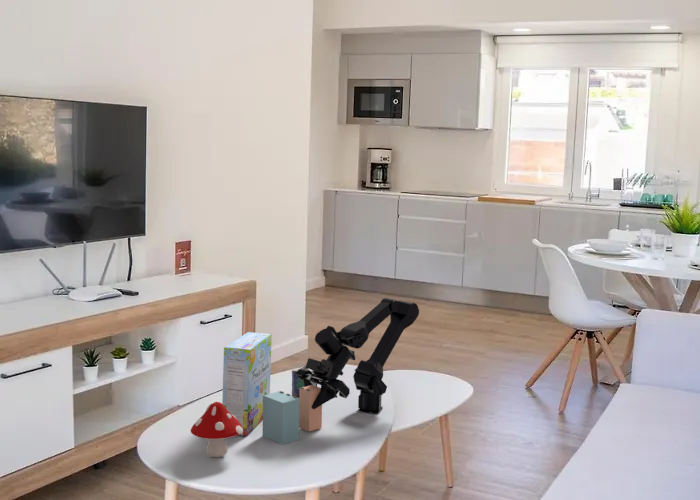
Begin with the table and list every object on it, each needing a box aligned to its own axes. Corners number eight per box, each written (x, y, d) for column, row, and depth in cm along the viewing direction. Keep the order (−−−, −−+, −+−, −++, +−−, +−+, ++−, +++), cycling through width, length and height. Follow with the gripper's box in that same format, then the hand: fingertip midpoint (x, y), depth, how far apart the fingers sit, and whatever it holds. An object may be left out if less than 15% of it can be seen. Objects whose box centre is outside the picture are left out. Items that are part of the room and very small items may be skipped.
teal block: (278, 431, 238) (279, 390, 237) (299, 439, 232) (299, 397, 231) (262, 435, 234) (262, 394, 233) (282, 444, 228) (283, 401, 226)
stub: (311, 423, 244) (312, 384, 243) (321, 427, 241) (322, 387, 240) (299, 427, 241) (299, 387, 239) (308, 431, 238) (309, 390, 236)
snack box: (249, 437, 233) (250, 349, 230) (220, 434, 235) (220, 347, 231) (271, 413, 254) (272, 332, 251) (245, 411, 256) (245, 330, 252)
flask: (290, 396, 272) (290, 364, 270) (294, 394, 274) (295, 362, 273) (315, 400, 268) (315, 368, 266) (319, 398, 270) (319, 366, 269)
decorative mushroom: (185, 449, 223) (185, 396, 221) (234, 443, 228) (234, 391, 226) (197, 469, 210) (197, 412, 208) (249, 461, 215) (249, 406, 213)
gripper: (300, 341, 247) (271, 384, 241) (343, 354, 234) (314, 399, 228) (319, 362, 254) (291, 404, 248) (362, 375, 241) (334, 420, 234)
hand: (307, 406), depth 239 cm, fingers closed on stub, 4 cm apart
